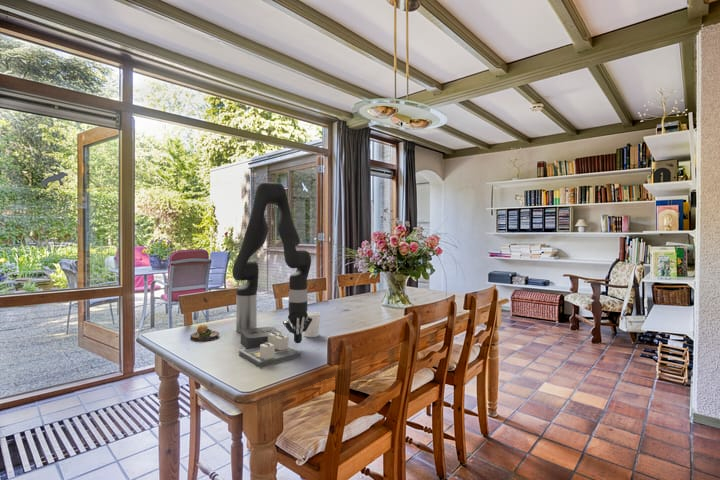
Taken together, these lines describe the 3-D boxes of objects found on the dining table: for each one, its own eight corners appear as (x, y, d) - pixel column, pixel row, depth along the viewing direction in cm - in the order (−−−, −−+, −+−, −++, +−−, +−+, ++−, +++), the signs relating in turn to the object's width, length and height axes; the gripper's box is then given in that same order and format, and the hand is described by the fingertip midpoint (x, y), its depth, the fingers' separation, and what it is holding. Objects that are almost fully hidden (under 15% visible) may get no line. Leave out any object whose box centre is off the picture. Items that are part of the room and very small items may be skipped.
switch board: (239, 355, 143) (239, 350, 143) (278, 346, 154) (278, 341, 154) (259, 367, 131) (259, 361, 131) (300, 356, 142) (300, 351, 142)
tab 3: (274, 348, 146) (274, 335, 146) (283, 346, 149) (283, 333, 148) (279, 350, 143) (279, 337, 143) (288, 348, 146) (288, 335, 146)
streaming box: (247, 351, 148) (248, 338, 148) (239, 342, 160) (239, 330, 160) (283, 346, 155) (283, 333, 155) (272, 337, 168) (272, 326, 168)
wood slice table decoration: (222, 339, 164) (222, 322, 164) (194, 343, 157) (194, 326, 157) (214, 333, 174) (214, 317, 174) (187, 337, 167) (187, 320, 166)
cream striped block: (259, 356, 136) (260, 342, 136) (269, 354, 138) (269, 341, 138) (264, 359, 133) (265, 345, 133) (274, 357, 136) (274, 343, 135)
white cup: (299, 336, 169) (299, 314, 169) (307, 332, 176) (308, 311, 176) (314, 338, 166) (314, 316, 166) (322, 334, 173) (323, 312, 173)
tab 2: (267, 344, 150) (267, 332, 150) (276, 343, 153) (276, 330, 152) (272, 347, 147) (272, 334, 147) (280, 345, 150) (281, 332, 150)
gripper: (306, 296, 158) (306, 337, 158) (278, 300, 149) (278, 343, 149) (317, 299, 152) (316, 341, 152) (288, 303, 143) (288, 348, 144)
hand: (297, 342), depth 151 cm, fingers closed
